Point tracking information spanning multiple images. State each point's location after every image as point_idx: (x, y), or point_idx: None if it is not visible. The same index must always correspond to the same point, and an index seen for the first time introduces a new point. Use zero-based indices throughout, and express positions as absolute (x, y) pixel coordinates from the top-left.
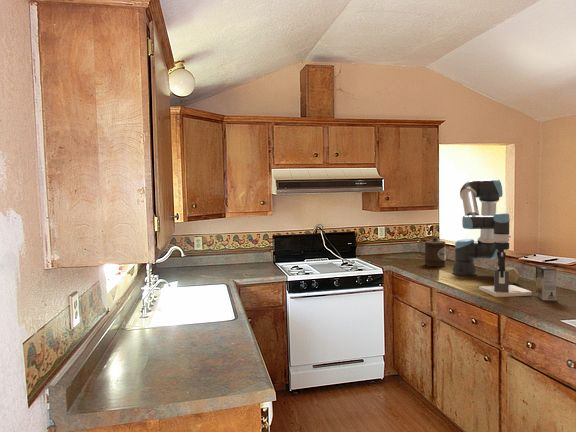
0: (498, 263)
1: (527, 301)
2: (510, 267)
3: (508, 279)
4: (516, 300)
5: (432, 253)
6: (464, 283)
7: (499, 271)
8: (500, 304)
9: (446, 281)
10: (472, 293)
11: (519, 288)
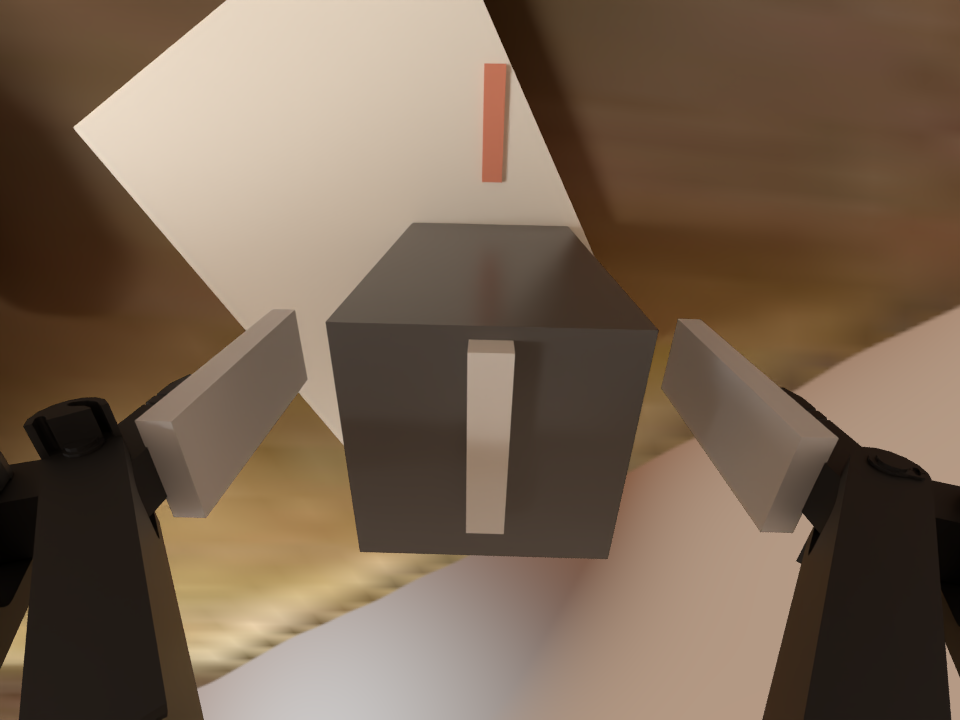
0: (172, 580)
1: (787, 8)
2: None
3: (606, 273)
4: (745, 147)
5: None
6: (180, 538)
7: (791, 520)
8: (912, 319)
9: (190, 628)
10: None
11: (264, 49)
